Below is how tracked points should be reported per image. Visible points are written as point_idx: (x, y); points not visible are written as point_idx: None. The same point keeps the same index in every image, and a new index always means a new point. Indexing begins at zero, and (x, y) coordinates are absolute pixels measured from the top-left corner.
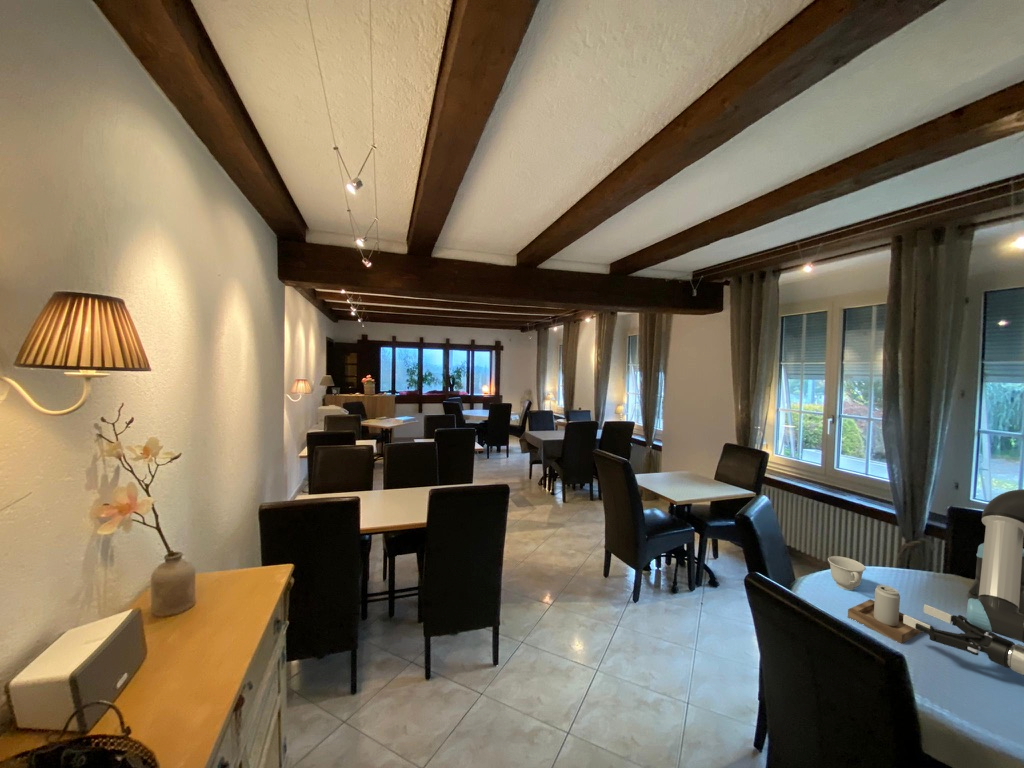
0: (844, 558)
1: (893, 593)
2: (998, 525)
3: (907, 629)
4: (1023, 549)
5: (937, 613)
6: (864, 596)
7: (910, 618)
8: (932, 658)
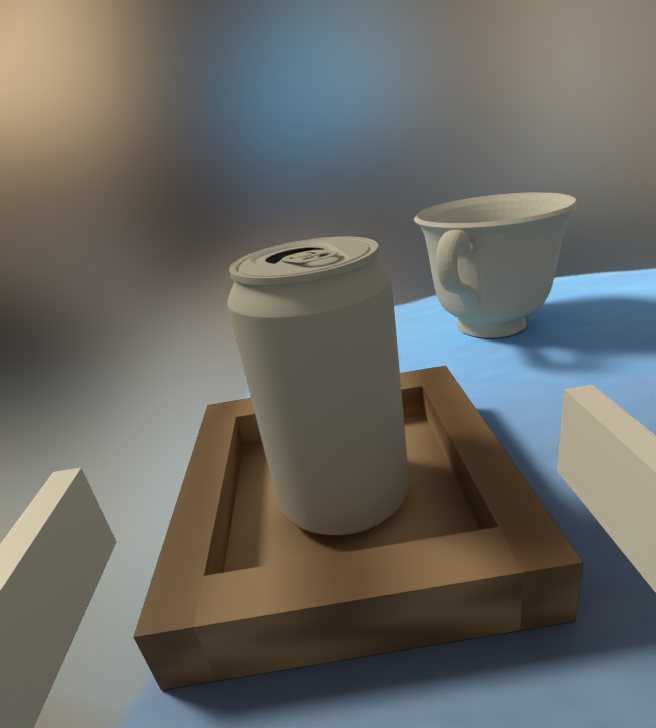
0: (532, 198)
1: (266, 275)
2: None
3: (295, 592)
4: None
5: (646, 512)
6: (513, 361)
7: (16, 524)
8: None
